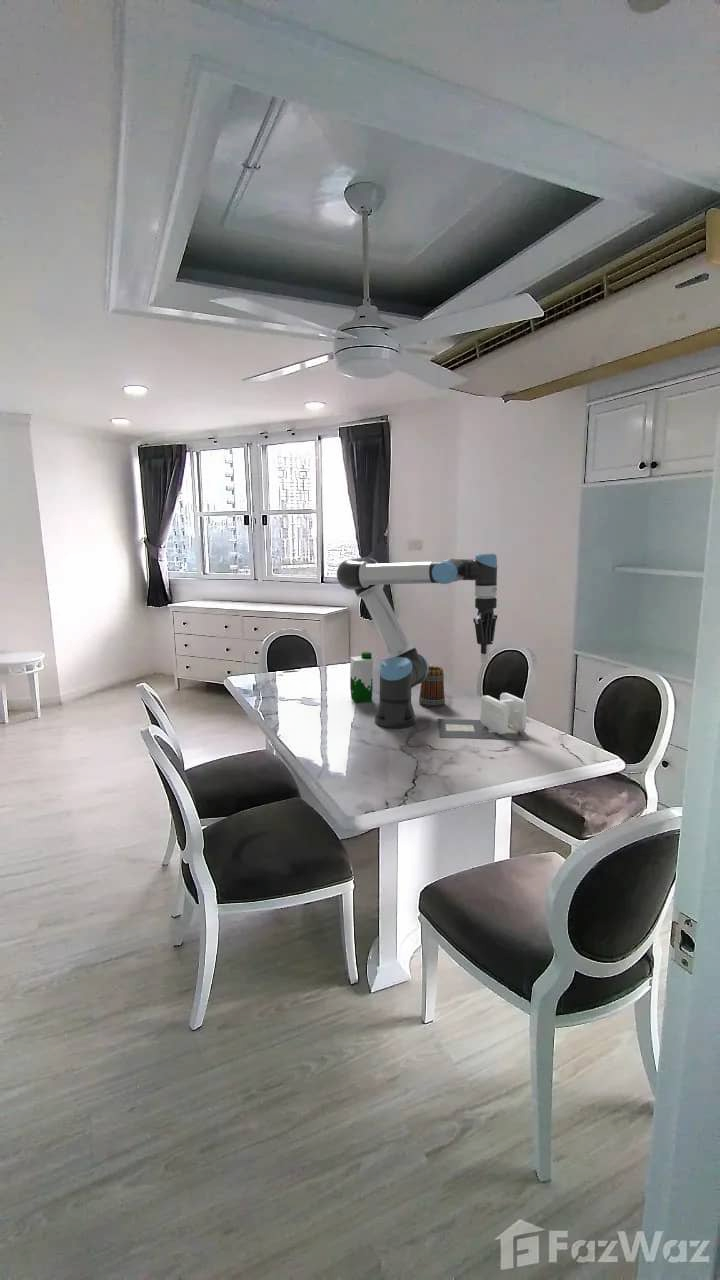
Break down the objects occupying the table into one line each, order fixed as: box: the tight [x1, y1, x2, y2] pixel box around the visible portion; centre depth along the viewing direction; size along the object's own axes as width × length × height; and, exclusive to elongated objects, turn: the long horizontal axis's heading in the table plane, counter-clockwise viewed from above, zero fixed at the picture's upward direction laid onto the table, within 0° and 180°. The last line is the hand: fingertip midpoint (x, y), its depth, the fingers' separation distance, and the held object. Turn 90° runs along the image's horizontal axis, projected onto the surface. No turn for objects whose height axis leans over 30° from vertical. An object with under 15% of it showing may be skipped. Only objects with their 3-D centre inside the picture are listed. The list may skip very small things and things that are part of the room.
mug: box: [418, 664, 446, 709], centre depth 249 cm, size 16×11×15 cm
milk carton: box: [349, 651, 374, 704], centre depth 251 cm, size 9×9×20 cm
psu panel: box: [437, 718, 530, 741], centre depth 217 cm, size 30×20×1 cm, turn 85°
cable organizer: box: [479, 692, 528, 734], centre depth 216 cm, size 15×11×12 cm
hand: (485, 662), depth 219 cm, fingers closed
